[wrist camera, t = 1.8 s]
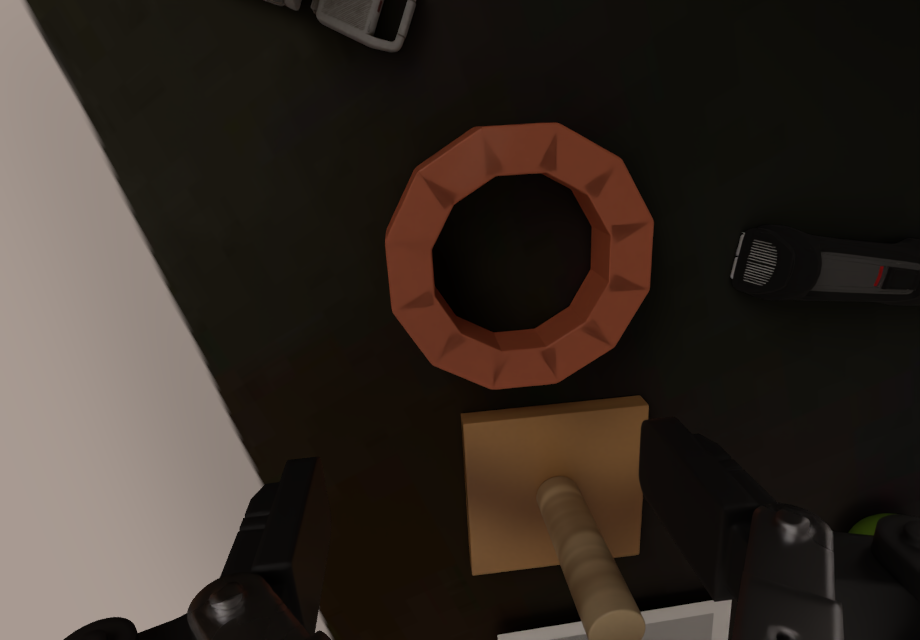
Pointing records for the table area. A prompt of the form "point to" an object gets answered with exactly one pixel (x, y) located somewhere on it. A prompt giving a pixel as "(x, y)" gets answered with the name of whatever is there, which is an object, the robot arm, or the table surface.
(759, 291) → the electric trimmer
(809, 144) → the table surface
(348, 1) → the strap clip
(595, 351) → the ring
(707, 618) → the touchpad
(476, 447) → the stand
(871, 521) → the snail figurine
